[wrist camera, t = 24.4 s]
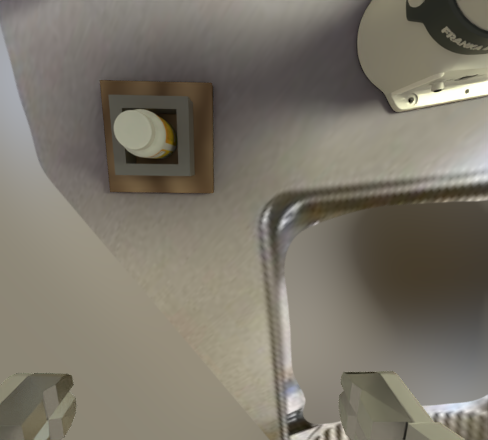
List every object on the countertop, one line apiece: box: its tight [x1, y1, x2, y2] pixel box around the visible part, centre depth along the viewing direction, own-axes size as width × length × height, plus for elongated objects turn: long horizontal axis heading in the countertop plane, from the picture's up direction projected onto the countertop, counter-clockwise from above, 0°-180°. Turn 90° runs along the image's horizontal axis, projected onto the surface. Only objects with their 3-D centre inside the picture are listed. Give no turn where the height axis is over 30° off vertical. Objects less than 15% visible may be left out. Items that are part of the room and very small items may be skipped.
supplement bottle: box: [114, 109, 178, 159], centre depth 32 cm, size 5×5×10 cm
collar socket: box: [100, 80, 214, 193], centre depth 35 cm, size 15×15×5 cm
